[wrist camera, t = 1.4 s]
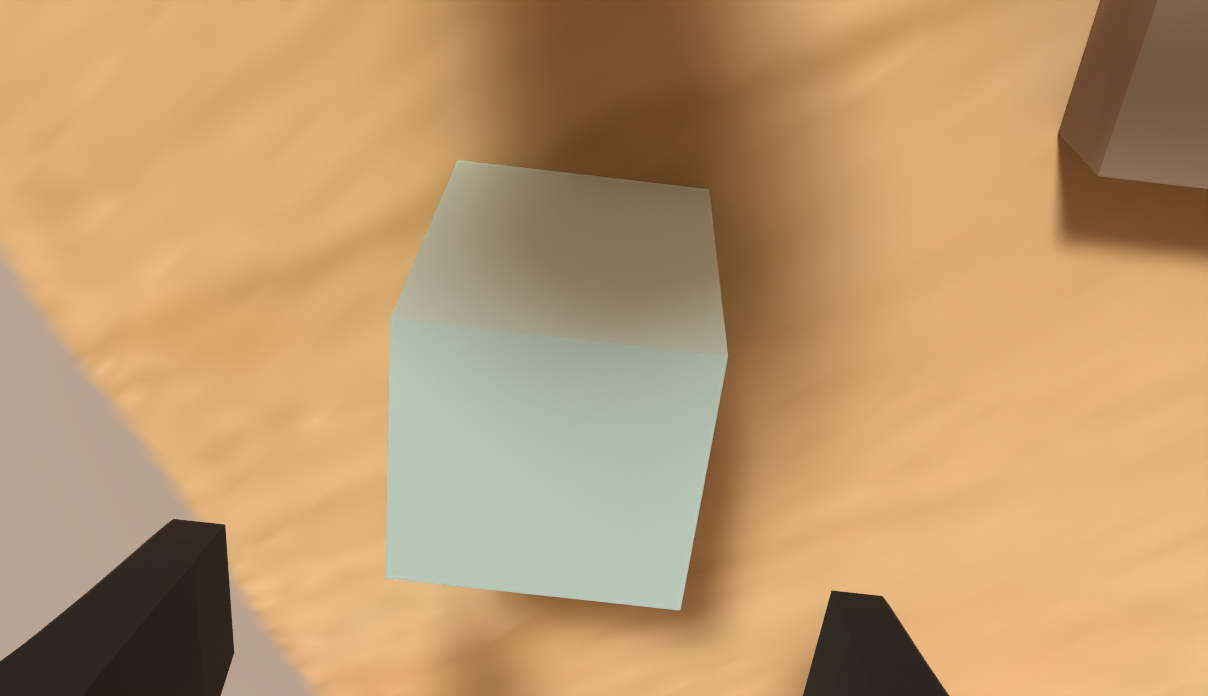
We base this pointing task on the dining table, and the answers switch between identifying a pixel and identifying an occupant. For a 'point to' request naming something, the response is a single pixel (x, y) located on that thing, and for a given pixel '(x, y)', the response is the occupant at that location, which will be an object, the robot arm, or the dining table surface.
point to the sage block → (555, 387)
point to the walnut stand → (1143, 93)
